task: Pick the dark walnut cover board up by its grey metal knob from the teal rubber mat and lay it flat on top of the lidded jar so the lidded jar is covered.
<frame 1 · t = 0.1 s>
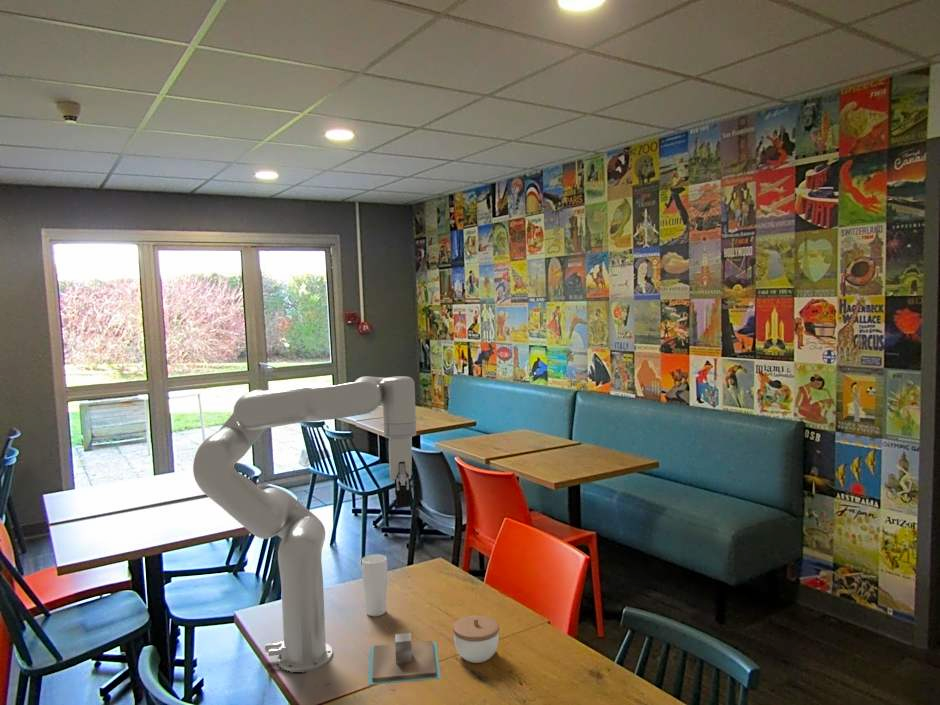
hand: (402, 500, 153), 37 cm above the table, tool pointing down, fingers open, 9 cm apart
lidded jar: (476, 658, 152), on the table
teal mat: (403, 663, 150), on the table
walnut cover: (403, 661, 150), resting on teal mat
drinking glass: (376, 613, 176), on the table
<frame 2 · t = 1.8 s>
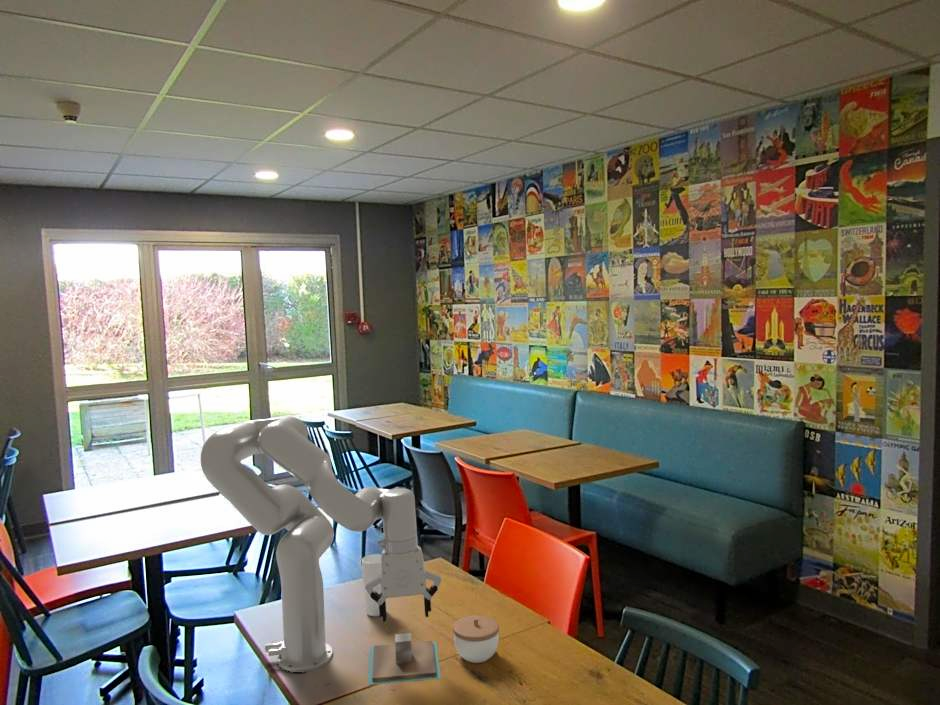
hand: (405, 616, 149), 11 cm above the table, tool pointing down, fingers open, 9 cm apart
nothing on the table moved.
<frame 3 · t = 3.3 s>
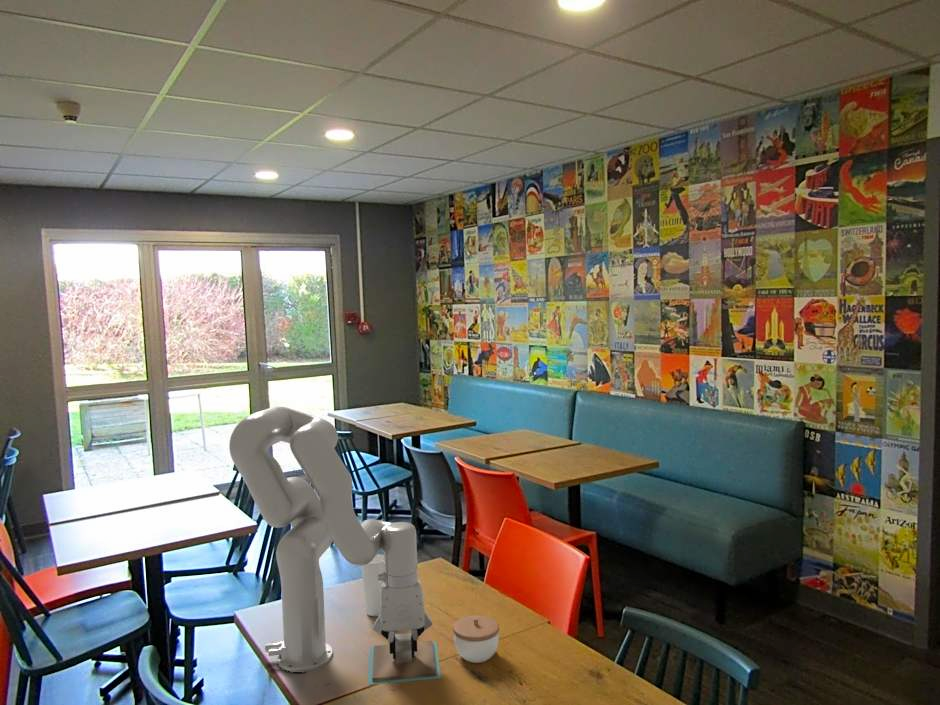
hand: (403, 654, 150), 2 cm above the table, tool pointing down, fingers closed on walnut cover, 3 cm apart
walnut cover: (403, 661, 150), resting on teal mat, touching gripper
everything else where it was.
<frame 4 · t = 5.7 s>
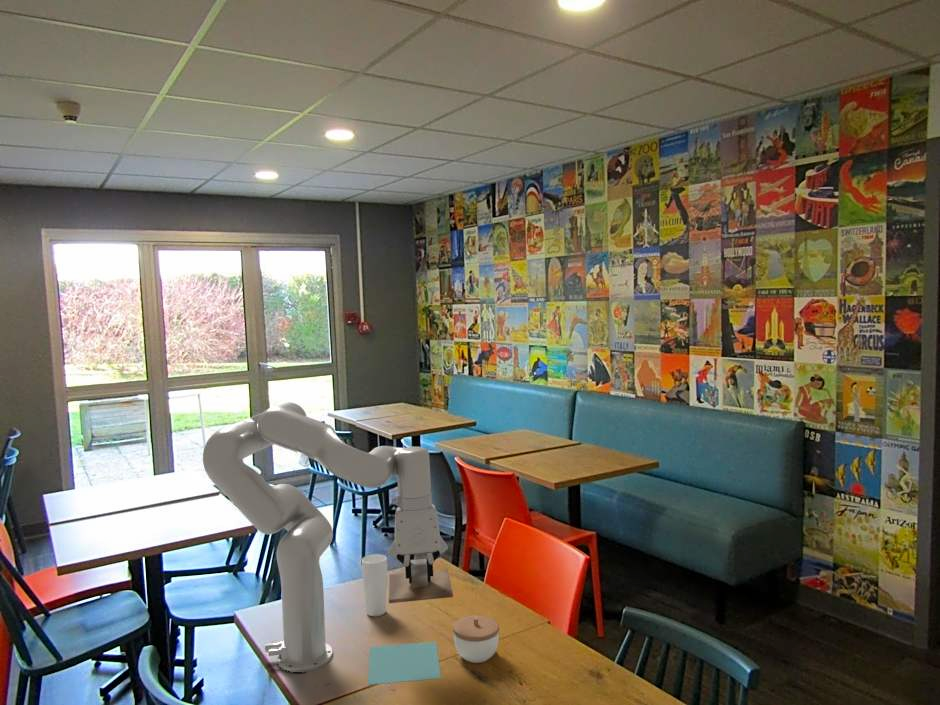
hand: (419, 579, 149), 20 cm above the table, tool pointing down, fingers closed on walnut cover, 3 cm apart
walnut cover: (420, 587, 149), point 18 cm above the table, touching gripper
everything else where it was.
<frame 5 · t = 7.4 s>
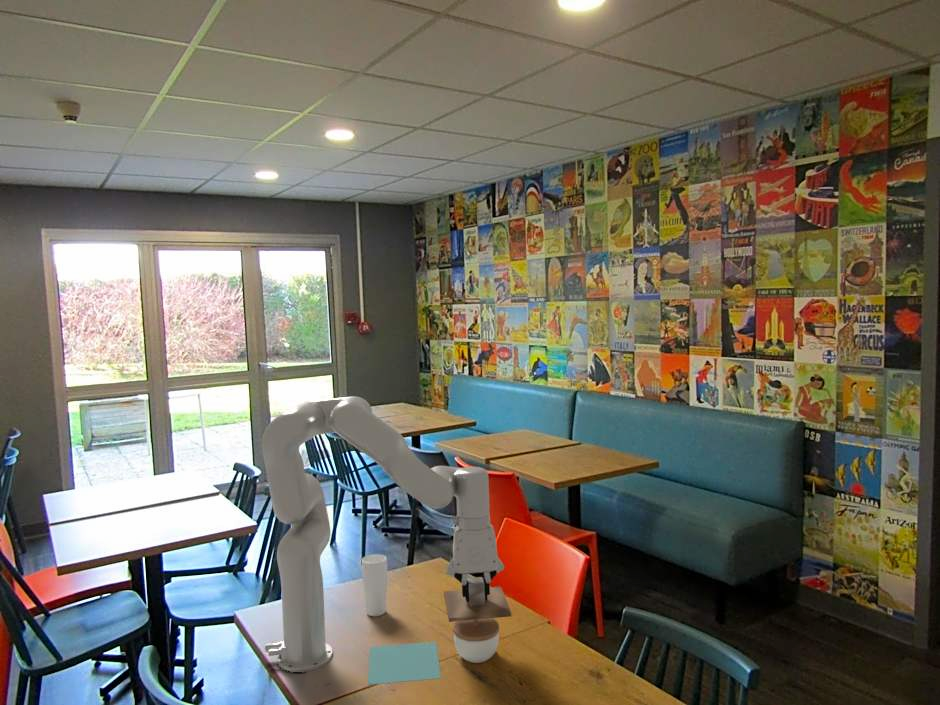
hand: (476, 597, 151), 14 cm above the table, tool pointing down, fingers closed on walnut cover, 3 cm apart
walnut cover: (476, 605, 151), point 13 cm above the table, touching gripper
everything else where it was.
when the fingers open (12 cm above the table, at t = 8.4 s): walnut cover drops 1 cm, resting on lidded jar.
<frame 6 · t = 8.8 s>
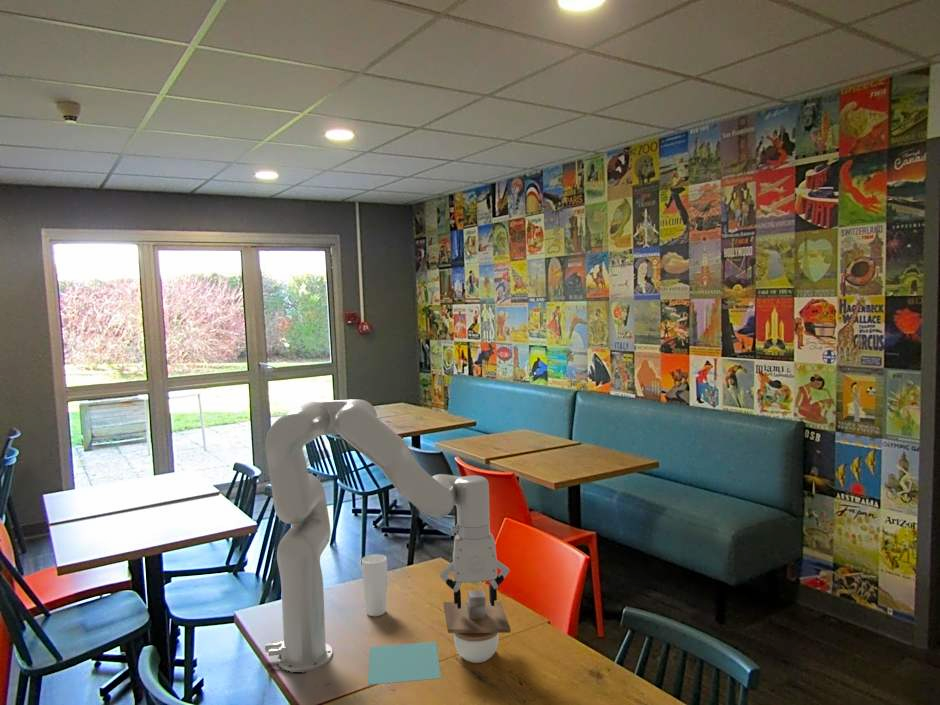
hand: (475, 604, 151), 13 cm above the table, tool pointing down, fingers open, 7 cm apart
lidded jar: (476, 658, 152), on the table, touching walnut cover
walnut cover: (475, 618, 151), point 9 cm above the table, touching lidded jar
everything else where it was.
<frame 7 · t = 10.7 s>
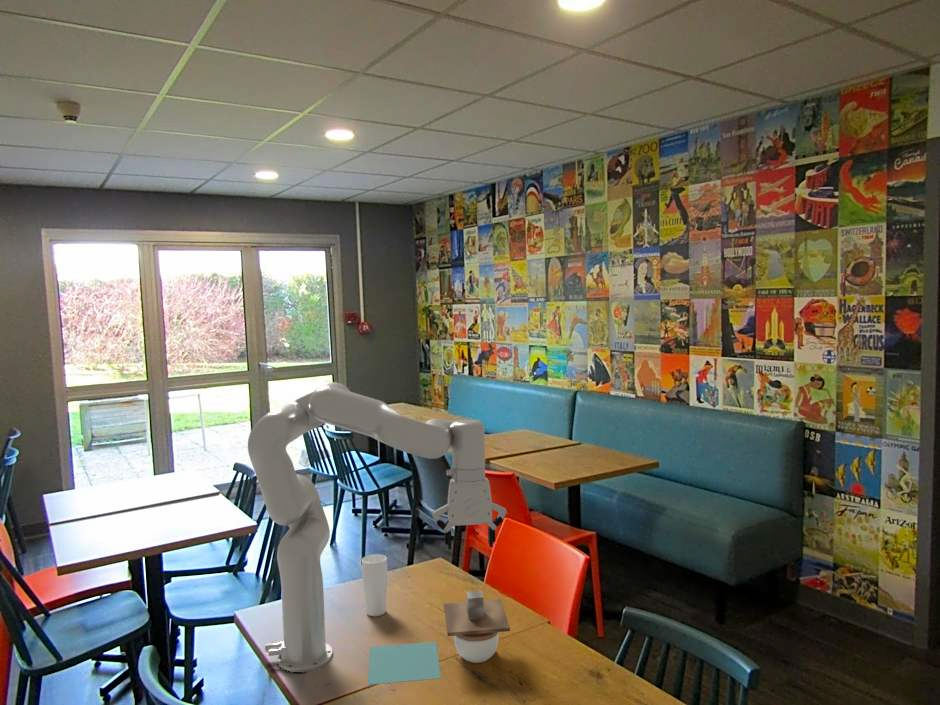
hand: (470, 546, 151), 26 cm above the table, tool pointing down, fingers open, 9 cm apart
nothing on the table moved.
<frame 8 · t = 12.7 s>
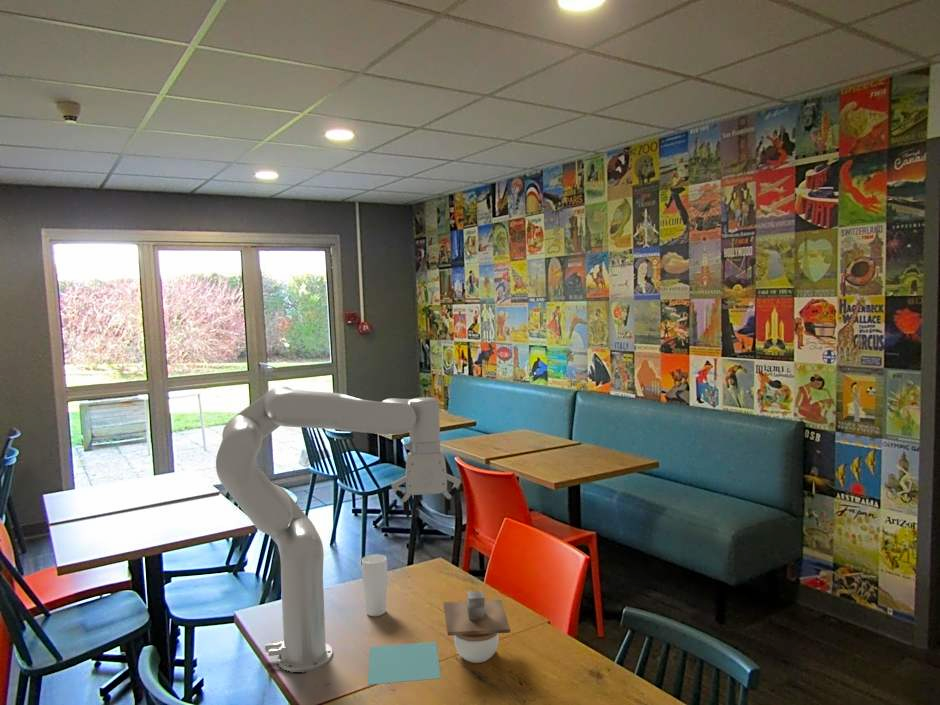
hand: (427, 514, 163), 30 cm above the table, tool pointing down, fingers open, 9 cm apart
nothing on the table moved.
at the end: walnut cover 0.1 cm off-centre on the lidded jar, point 9.6 cm above the lidded jar's base; walnut cover touching lidded jar; lidded jar moved 0.2 cm from its start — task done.
